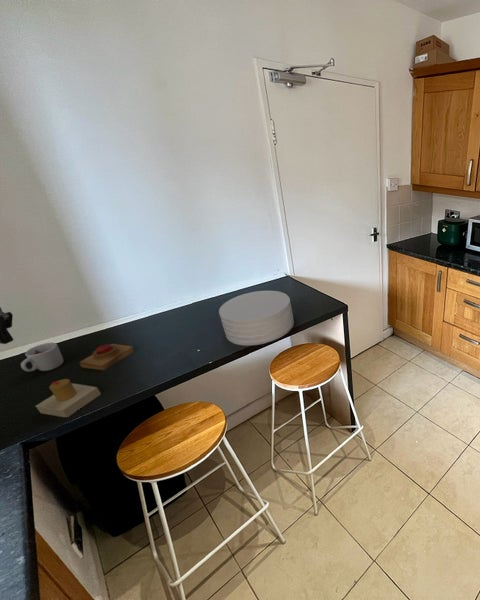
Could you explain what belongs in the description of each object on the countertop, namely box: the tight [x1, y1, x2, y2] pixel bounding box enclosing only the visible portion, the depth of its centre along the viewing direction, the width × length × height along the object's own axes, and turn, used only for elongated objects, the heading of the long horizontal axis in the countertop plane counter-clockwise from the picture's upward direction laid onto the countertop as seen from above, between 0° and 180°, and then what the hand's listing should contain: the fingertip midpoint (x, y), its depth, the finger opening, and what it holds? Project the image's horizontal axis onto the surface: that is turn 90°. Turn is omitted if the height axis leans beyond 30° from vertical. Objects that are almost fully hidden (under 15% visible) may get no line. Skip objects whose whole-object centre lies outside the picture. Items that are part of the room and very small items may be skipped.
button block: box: [78, 343, 135, 371], centre depth 118 cm, size 12×10×4 cm
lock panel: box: [35, 382, 102, 419], centre depth 98 cm, size 10×10×3 cm
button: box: [95, 343, 112, 354], centre depth 117 cm, size 4×4×2 cm
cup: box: [20, 342, 64, 373], centre depth 112 cm, size 11×8×8 cm
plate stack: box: [218, 290, 295, 346], centre depth 136 cm, size 28×28×12 cm
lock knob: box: [49, 378, 77, 401], centre depth 96 cm, size 4×4×5 cm
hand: (7, 342), depth 85 cm, fingers closed
